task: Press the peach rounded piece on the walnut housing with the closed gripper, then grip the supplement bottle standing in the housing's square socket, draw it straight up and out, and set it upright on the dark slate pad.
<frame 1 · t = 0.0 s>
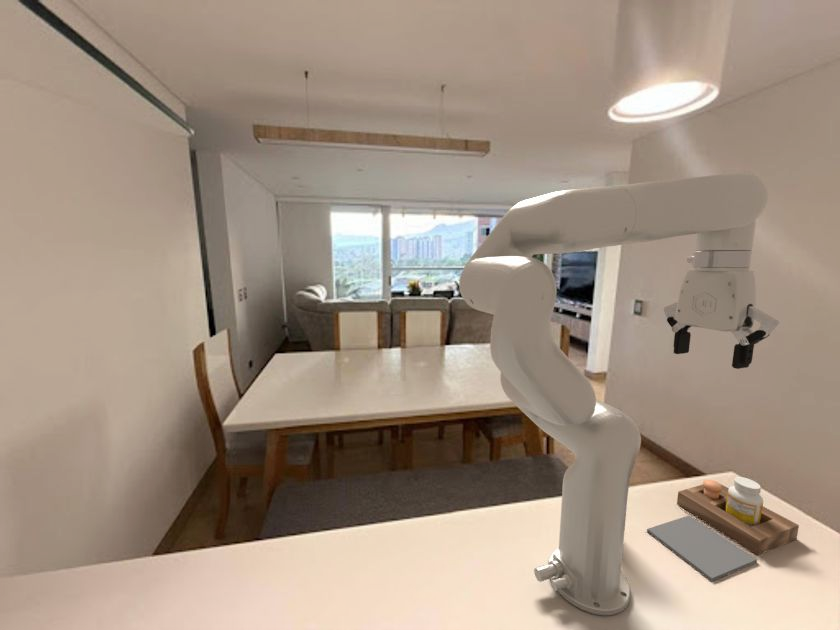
hand: (708, 359, 63), 37 cm above the kitchen counter, tool pointing down, fingers open, 9 cm apart
peach rounded piece: (711, 492, 79), point 4 cm above the kitchen counter, slide at 0.0 cm
supplement bottle: (740, 526, 74), resting in housing
pad: (698, 546, 69), on the kitchen counter
sprinkles bottle: (603, 531, 73), on the kitchen counter
housing: (740, 525, 74), on the kitchen counter
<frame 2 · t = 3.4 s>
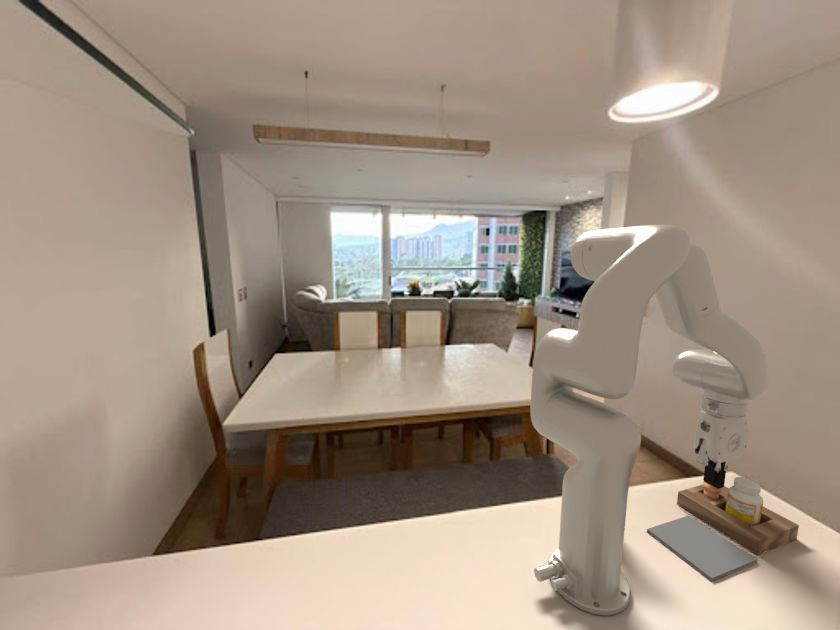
hand: (713, 484, 79), 5 cm above the kitchen counter, tool pointing down, fingers closed
peach rounded piece: (711, 493, 79), point 3 cm above the kitchen counter, slide at 0.3 cm, touching gripper
everything else where it was.
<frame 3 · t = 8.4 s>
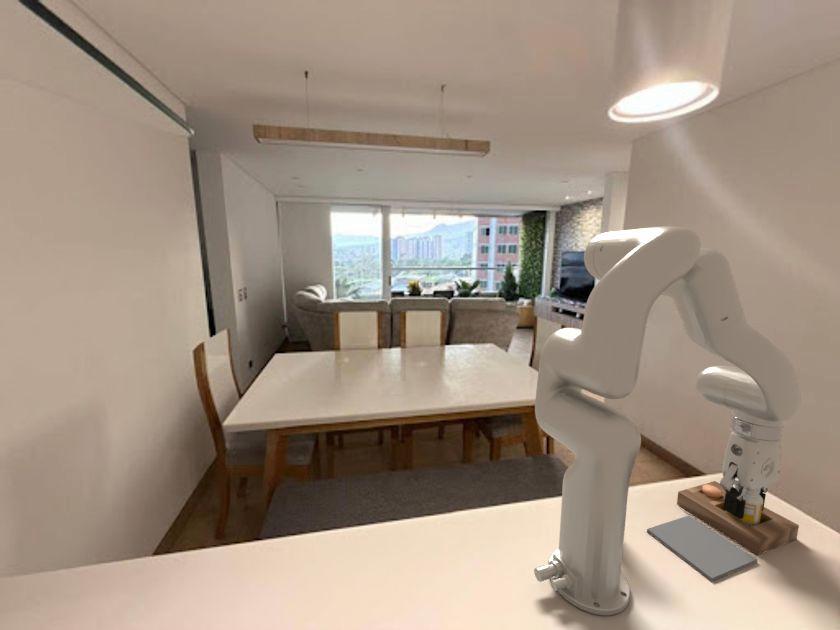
hand: (743, 509, 73), 4 cm above the kitchen counter, tool pointing down, fingers closed on supplement bottle, 5 cm apart
peach rounded piece: (710, 497, 79), point 2 cm above the kitchen counter, slide at 1.3 cm
supplement bottle: (740, 526, 74), resting in housing, touching gripper
everything else where it was.
when the fingers open (5 cm above the kitchen counter, at t = 15.4 s): supplement bottle drops 1 cm, resting on pad.
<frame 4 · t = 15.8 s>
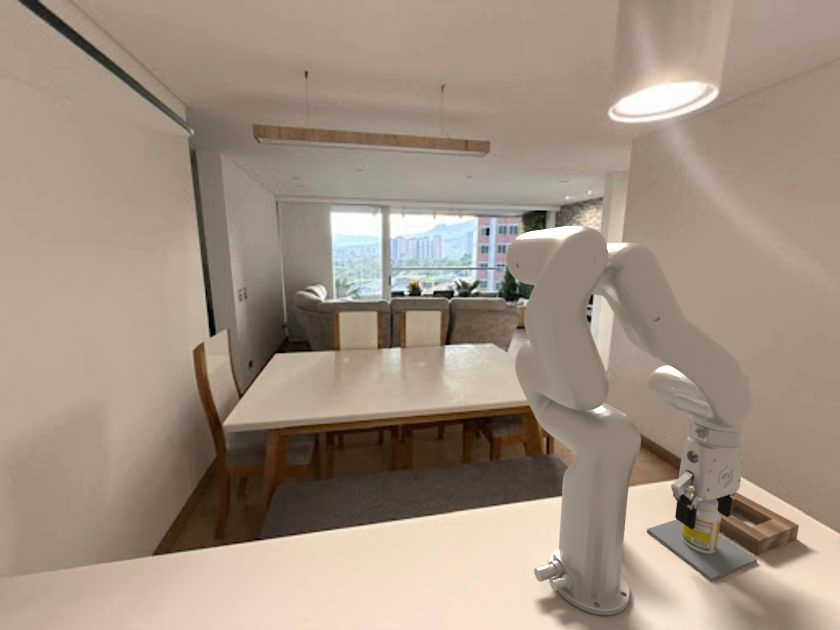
hand: (702, 517, 68), 6 cm above the kitchen counter, tool pointing down, fingers open, 9 cm apart
supplement bottle: (698, 544, 68), resting on pad
everything else where it was.
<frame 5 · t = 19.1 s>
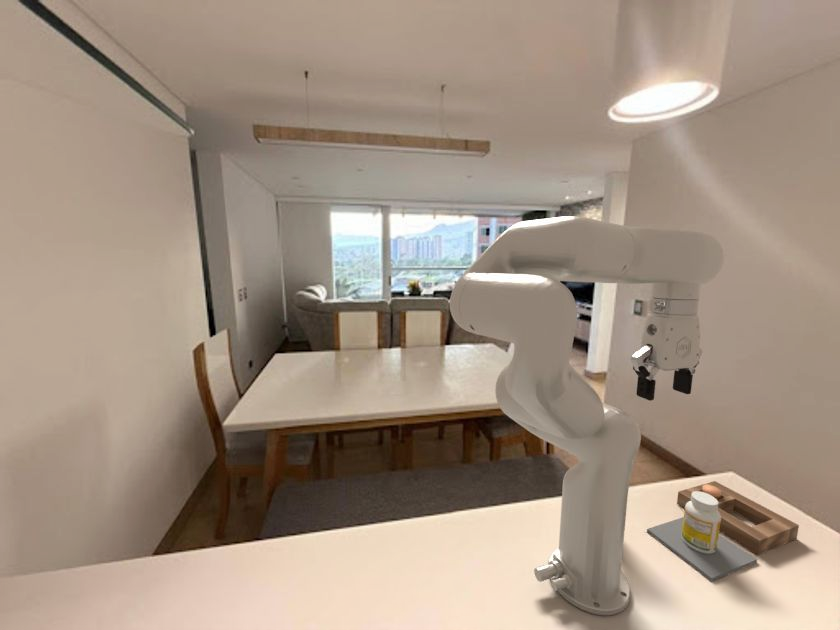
hand: (663, 394, 70), 28 cm above the kitchen counter, tool pointing down, fingers open, 9 cm apart
nothing on the kitchen counter moved.
at the end: peach rounded piece slide at 1.3 cm; supplement bottle inside the target area on the pad (0.2 cm from its centre), point 0.4 cm above the pad's base; supplement bottle tilted 0° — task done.
